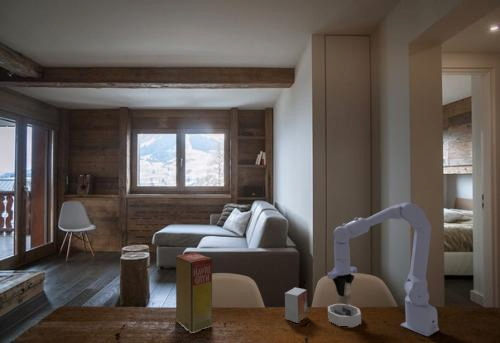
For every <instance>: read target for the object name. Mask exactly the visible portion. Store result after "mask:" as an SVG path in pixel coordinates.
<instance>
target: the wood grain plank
mask: <svg viewBox="0 0 500 343" xmlns="http://www.w3.org/2000/svg"><path fill="white" fill-rule="evenodd" d="M351 293H352V292H351V286H350V283H348V282H345V287H344V296H340V295H338V292H337V288H336V287H335V295H336V296H335V301H336V302H338V303H340V304H346V305H348V304H349V305H351V304H352V296H351Z"/></svg>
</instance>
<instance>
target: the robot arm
mask: <svg viewBox="0 0 500 343" xmlns="http://www.w3.org/2000/svg"><path fill="white" fill-rule="evenodd" d="M390 219H394V220H402V219H403V220H405V221H407V222H408V224H409V225H410V226H411V227H412V228H413V229H414V235H413V244H412V252H411V259H410V260H411V261H410V268H409V269H410V270H409V272H408V275H407V279H406V280H405V282H404V284H403V290H404V291H405V293H406V296H405V298H404V304H405V305H404V307H405V308H404V310H405V322H402V323H401V324H400V326H401V327H403V328H406V329H408V330H410V331H413V332H415V333H418V334H420V335H423V336H426V337H430V336H431V335H433V334H434V333H436V332H438V331H440V328H439V325H438V324H439V323H438V310H437V308H436V307H434V306H432V305H431V304H430V303H429V300H430V293H429V291H428V281H427V270H428V263H429V262H428V261H429V251H430V246H431V245H430V244H431V234H432V225H431V223H430V221H429V220H428V218H427V216H426V213H425V211H424V209H422V208H421V207H419V206H418V205H417V204H415V203H411V202H408V201H403V202H401V203H398V204H394V205H391V206H389V207H387V208H385V209H383V210H381V211H379V212H377V213H375V214H373V215H371V216H369V217H367V218H363V217H357V216H356V217H354V218H353V220H351V221H350V222H348V223H345V222H343V223H342V226H341V225H340V226H337V227H336V228H335V229H334V230H333V239H334V241H333V243H334V246H333V252H334V255H333V256H334V268H332V270H331V271H330V272H327V279H328V280H332V281H333V283H334V285H335V289H336V288H337V292H338V295H340V296H344V287H345V282H348V283H350V287H351V286H352V283H353V280H354V279H355V275H353V274H357V273H358V267H356V266H351V251H350V250H351V249H350V245H349V244H350V243H349V242H350V239H354V238H356V237H359V236H361V235H364V234H365V233H368V232H369V230H370V228H371V227H373V226H375V225H377V224H380V223H383V222H385V221H387V220H390Z"/></svg>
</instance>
